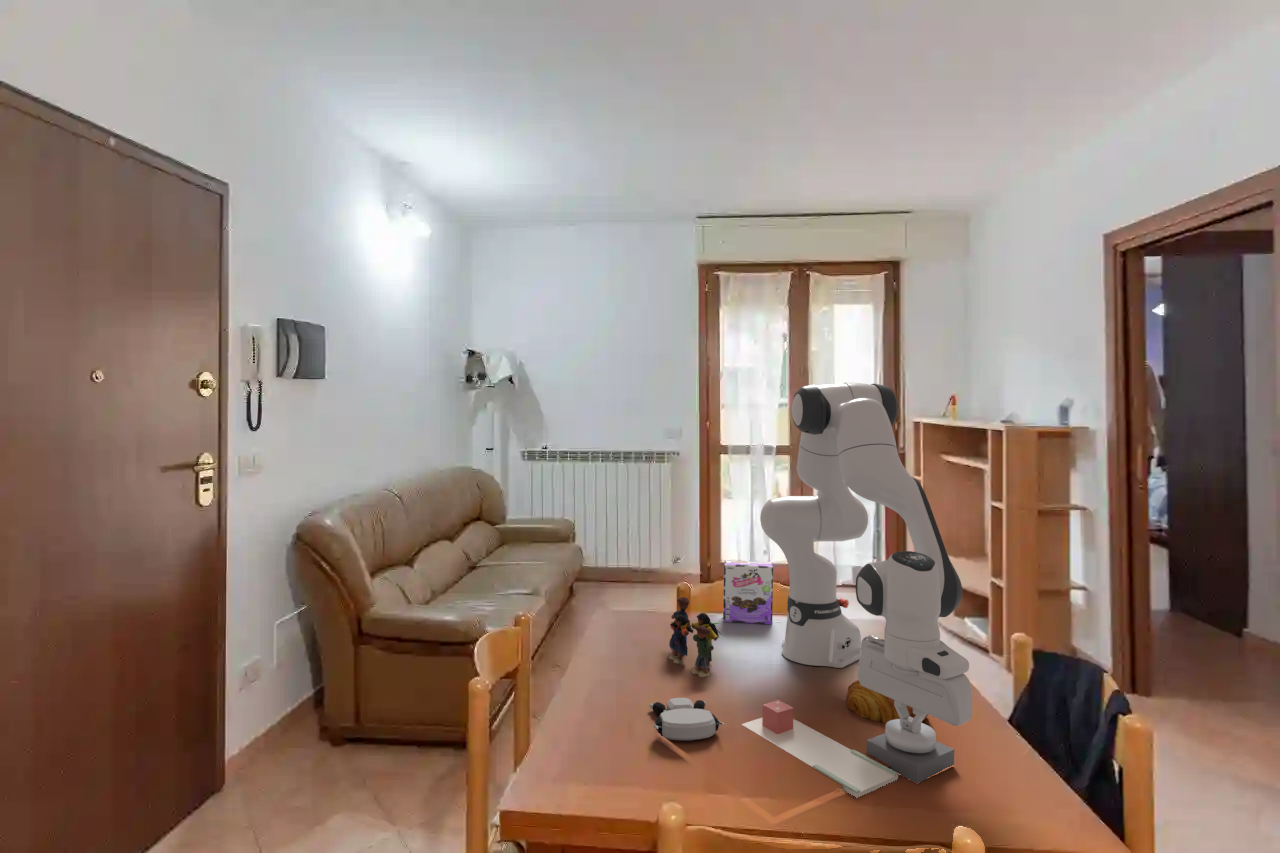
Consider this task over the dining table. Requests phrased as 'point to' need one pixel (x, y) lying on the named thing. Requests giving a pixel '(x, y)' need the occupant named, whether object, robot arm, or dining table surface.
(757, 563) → the candy box
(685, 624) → the doll family
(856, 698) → the croissant
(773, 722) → the red die
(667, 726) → the robot toy
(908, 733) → the dome plunger
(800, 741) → the board
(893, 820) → the dining table surface
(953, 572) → the robot arm
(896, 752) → the base
